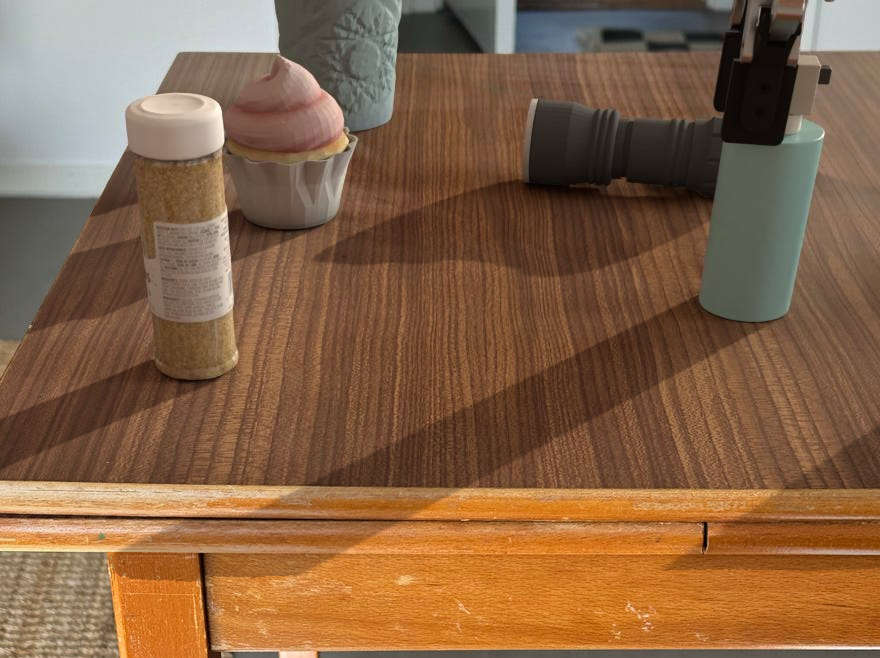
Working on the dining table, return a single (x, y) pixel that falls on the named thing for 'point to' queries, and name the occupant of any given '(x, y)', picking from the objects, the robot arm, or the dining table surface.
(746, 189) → the spray bottle
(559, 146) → the flashlight
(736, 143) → the robot arm
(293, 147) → the cupcake
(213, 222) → the sprinkles bottle
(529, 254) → the dining table surface
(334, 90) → the embossed vase
